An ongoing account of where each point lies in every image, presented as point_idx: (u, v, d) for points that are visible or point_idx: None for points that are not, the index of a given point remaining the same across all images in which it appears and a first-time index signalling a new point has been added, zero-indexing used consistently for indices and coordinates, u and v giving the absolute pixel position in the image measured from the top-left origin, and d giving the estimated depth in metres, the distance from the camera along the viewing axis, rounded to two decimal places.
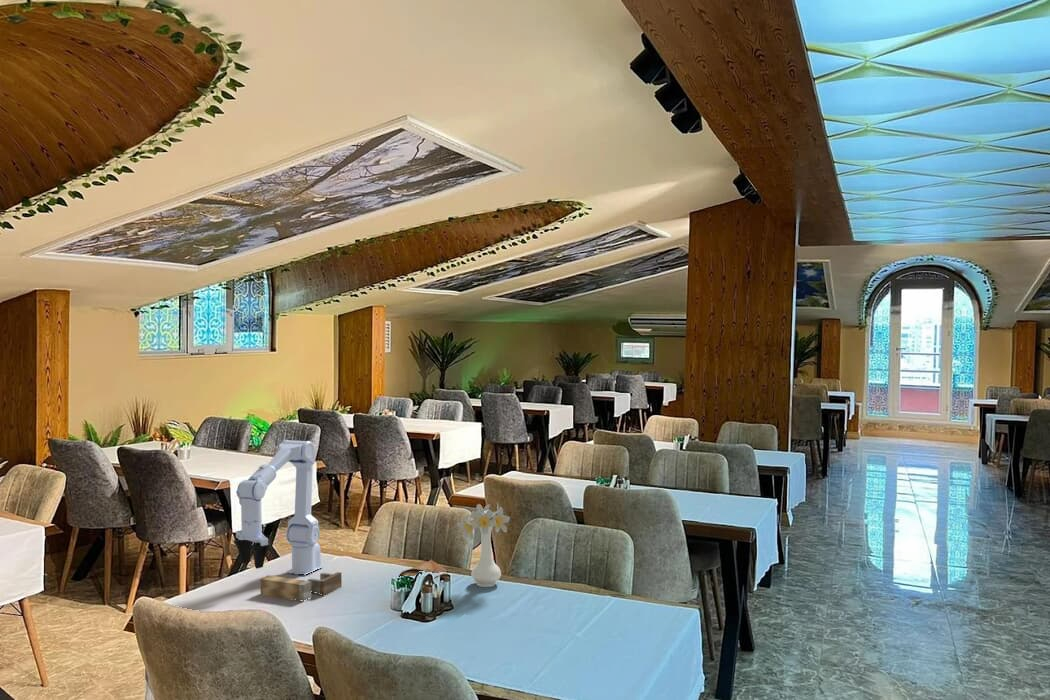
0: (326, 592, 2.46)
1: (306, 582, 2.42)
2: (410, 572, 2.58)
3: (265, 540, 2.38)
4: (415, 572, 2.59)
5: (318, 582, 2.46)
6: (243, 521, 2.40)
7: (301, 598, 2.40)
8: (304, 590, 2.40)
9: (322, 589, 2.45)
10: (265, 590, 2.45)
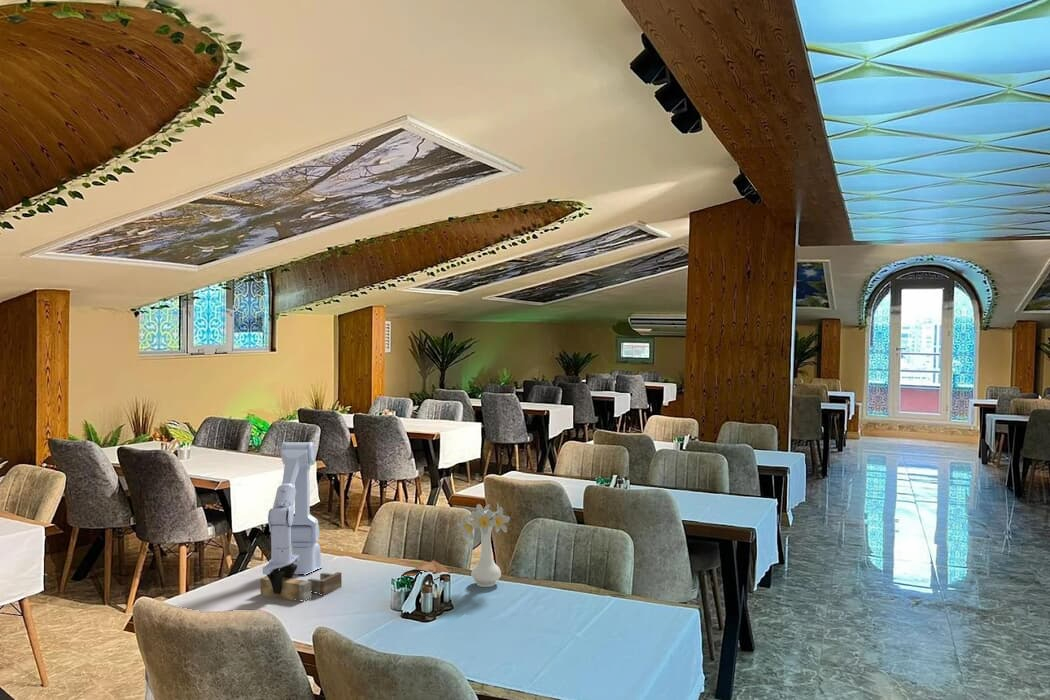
0: (326, 592, 2.46)
1: (306, 582, 2.42)
2: (412, 573, 2.57)
3: (265, 569, 2.38)
4: None
5: (318, 582, 2.46)
6: None
7: (301, 598, 2.40)
8: (304, 590, 2.40)
9: (322, 589, 2.45)
10: (265, 590, 2.45)
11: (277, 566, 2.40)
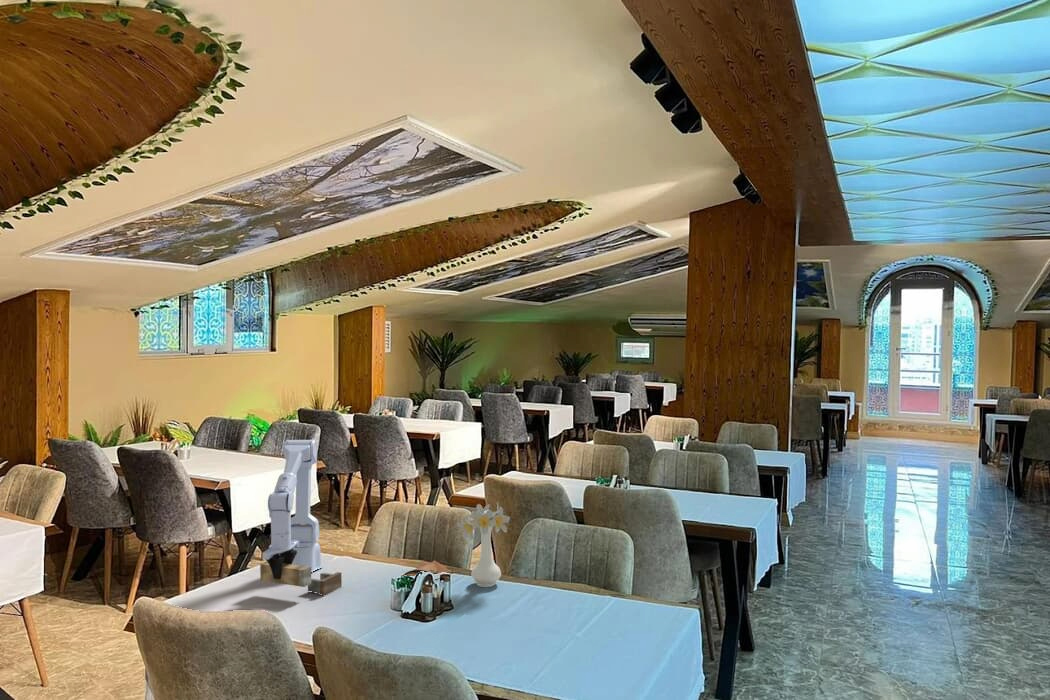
0: (326, 592, 2.46)
1: (306, 567, 2.42)
2: (413, 573, 2.57)
3: (265, 554, 2.38)
4: None
5: (318, 582, 2.46)
6: None
7: (301, 583, 2.40)
8: (304, 575, 2.40)
9: (322, 589, 2.45)
10: (265, 575, 2.45)
11: (277, 551, 2.40)
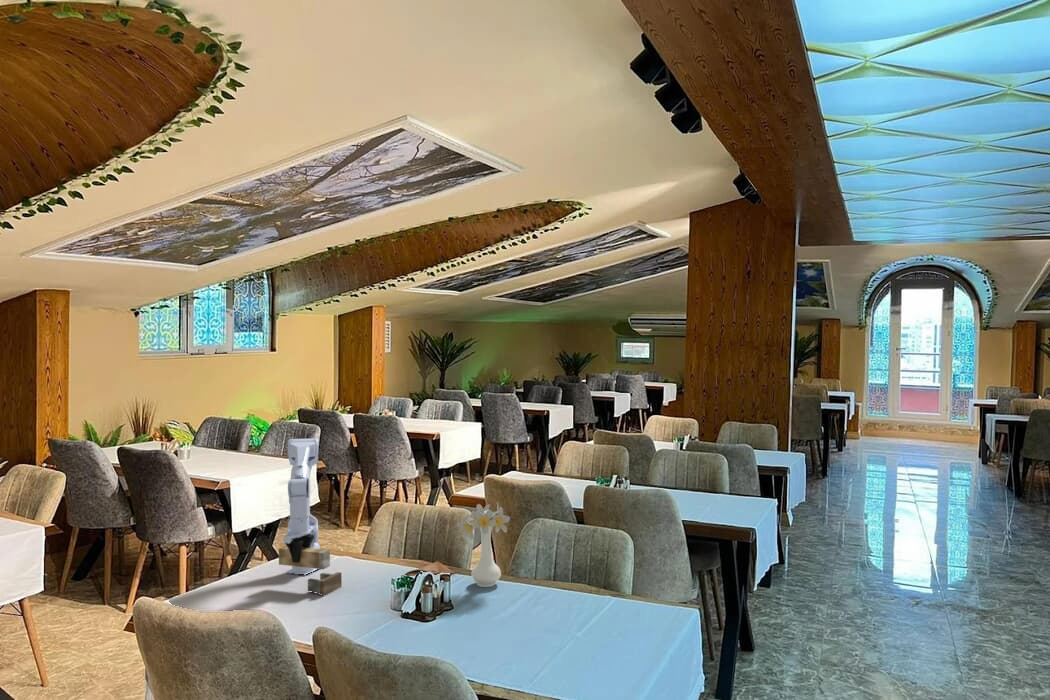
0: (326, 592, 2.46)
1: (325, 550, 2.50)
2: (414, 573, 2.57)
3: (286, 538, 2.45)
4: None
5: (318, 582, 2.46)
6: None
7: (321, 566, 2.48)
8: (324, 558, 2.48)
9: (322, 589, 2.45)
10: (284, 559, 2.52)
11: (297, 535, 2.48)
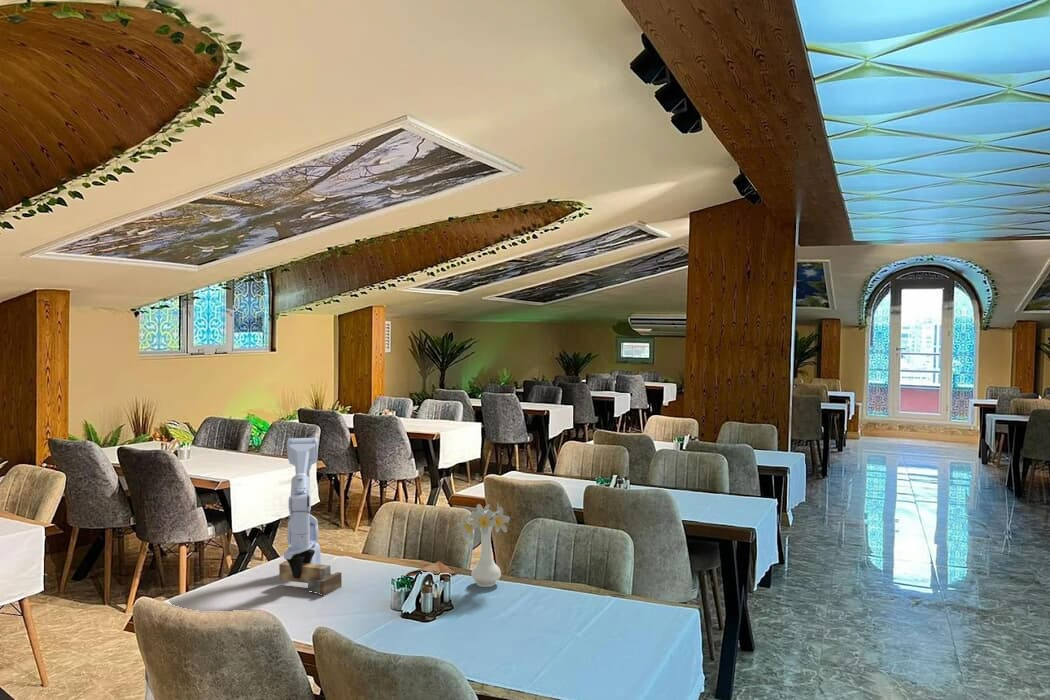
0: (326, 592, 2.46)
1: (326, 566, 2.51)
2: (416, 573, 2.57)
3: (287, 554, 2.46)
4: None
5: (318, 582, 2.46)
6: None
7: None
8: (324, 574, 2.49)
9: (322, 589, 2.45)
10: (284, 575, 2.53)
11: (298, 551, 2.48)
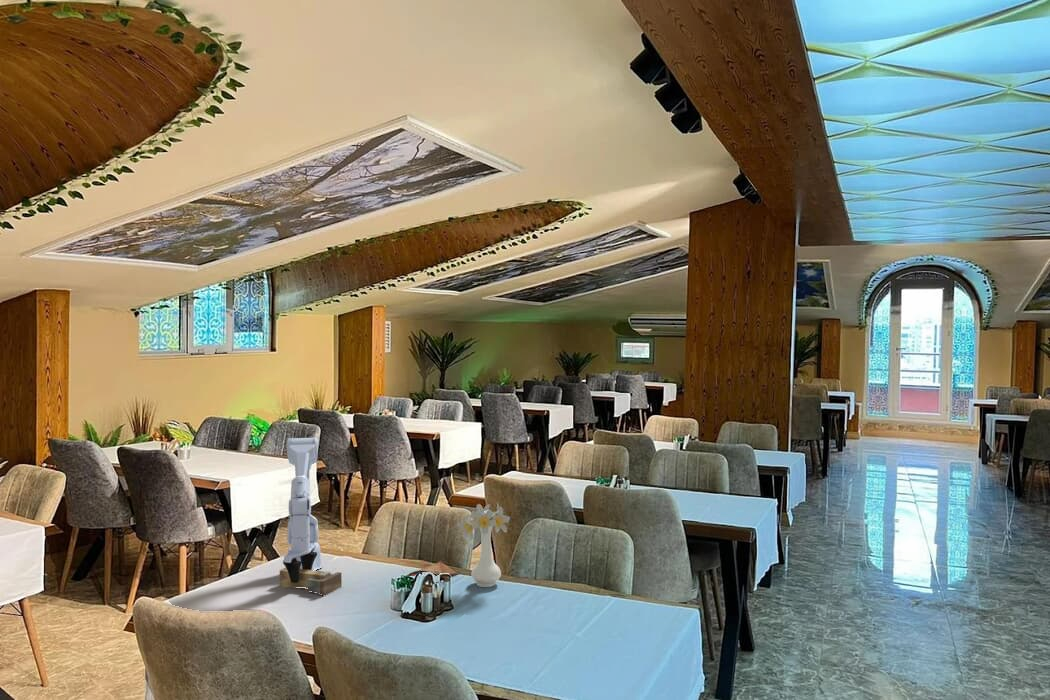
0: (326, 592, 2.46)
1: (326, 573, 2.51)
2: None
3: (287, 557, 2.46)
4: None
5: (318, 582, 2.46)
6: None
7: None
8: None
9: (322, 589, 2.45)
10: (284, 581, 2.53)
11: (298, 554, 2.48)
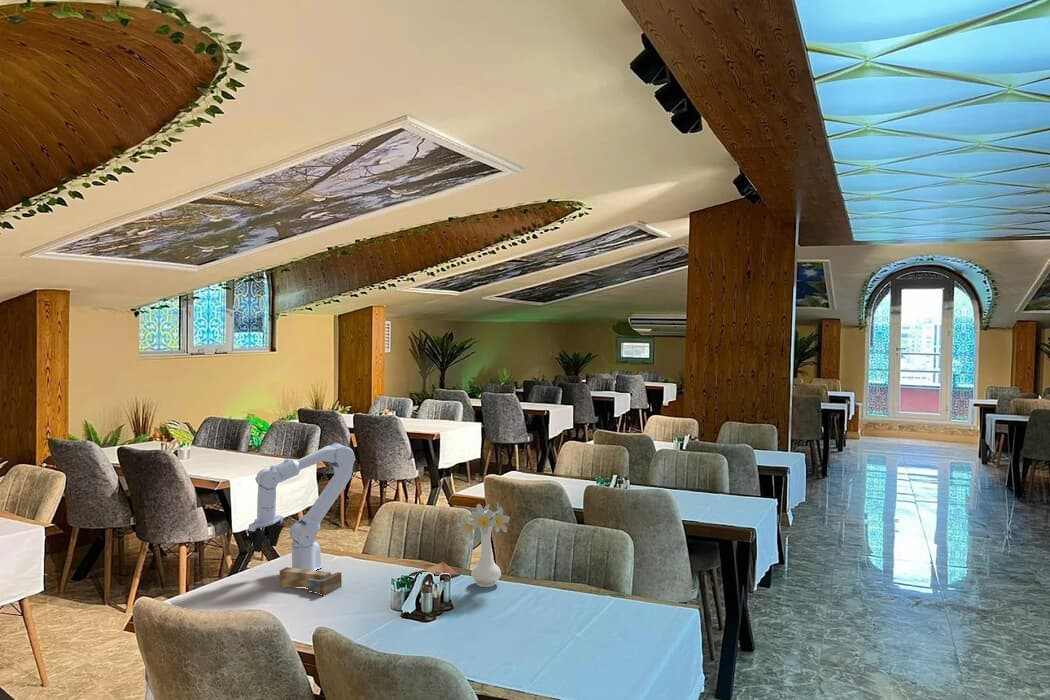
0: (326, 592, 2.46)
1: (326, 573, 2.51)
2: None
3: (251, 526, 2.55)
4: None
5: (318, 582, 2.46)
6: None
7: None
8: None
9: (322, 589, 2.45)
10: (284, 581, 2.53)
11: (262, 524, 2.57)
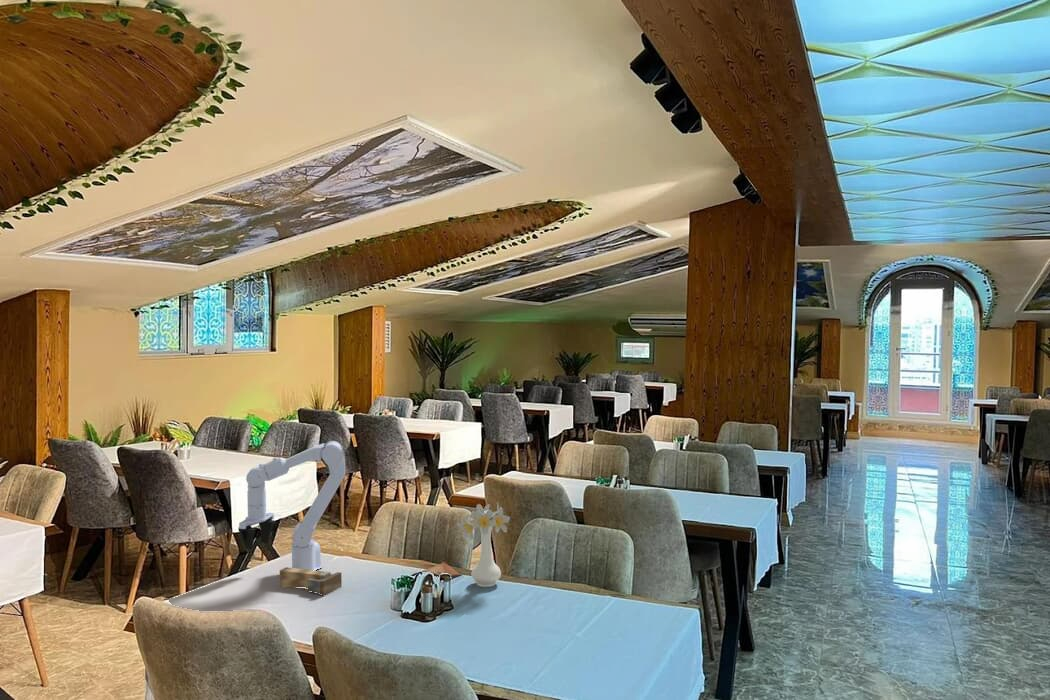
0: (326, 592, 2.46)
1: (326, 573, 2.51)
2: None
3: (241, 524, 2.58)
4: None
5: (318, 582, 2.46)
6: None
7: None
8: None
9: (322, 589, 2.45)
10: (284, 581, 2.53)
11: (253, 522, 2.61)
